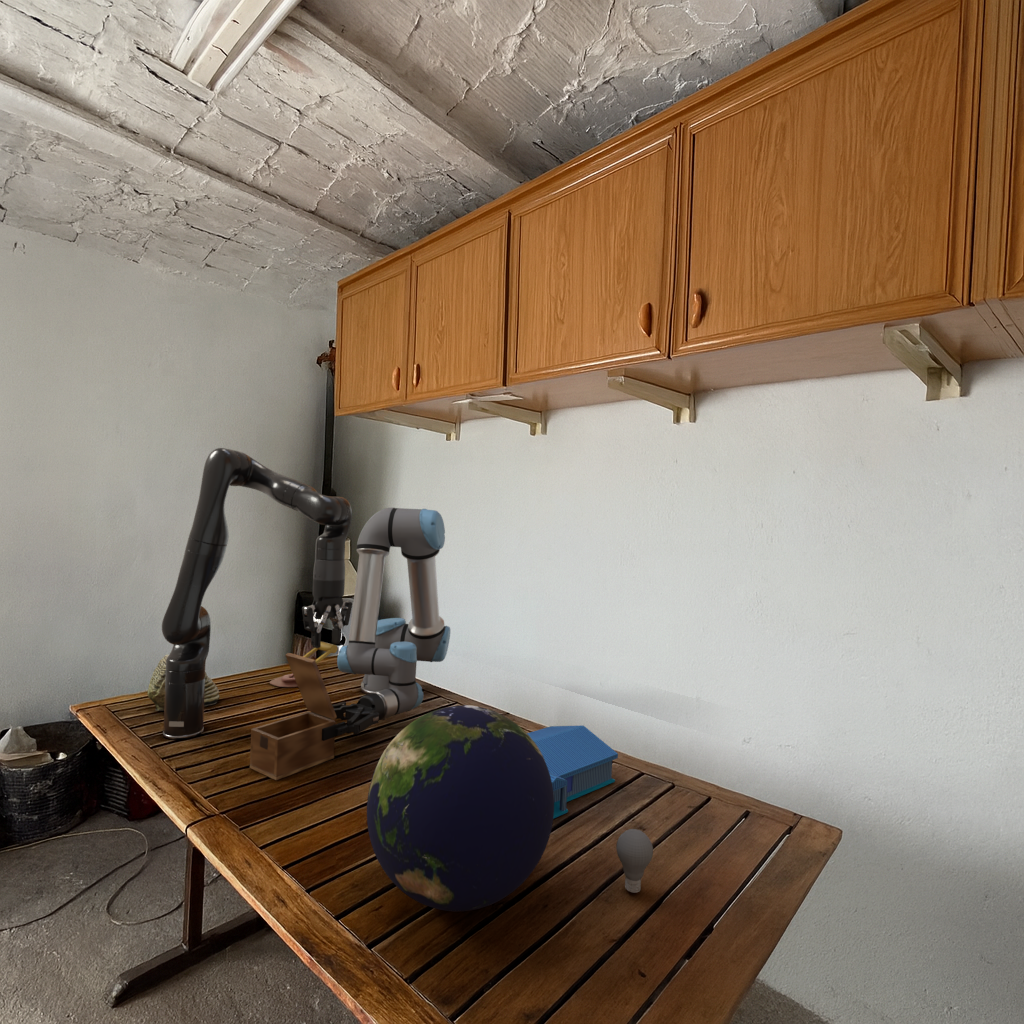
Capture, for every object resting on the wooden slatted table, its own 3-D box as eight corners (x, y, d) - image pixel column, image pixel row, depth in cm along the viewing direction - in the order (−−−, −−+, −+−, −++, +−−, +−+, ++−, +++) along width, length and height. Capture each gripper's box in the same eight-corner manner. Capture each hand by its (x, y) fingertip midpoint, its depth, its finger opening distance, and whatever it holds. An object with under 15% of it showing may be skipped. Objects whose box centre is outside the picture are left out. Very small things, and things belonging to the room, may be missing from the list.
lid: (311, 662, 147) (340, 640, 154) (285, 654, 153) (313, 633, 159) (334, 719, 153) (360, 696, 160) (307, 710, 159) (334, 688, 165)
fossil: (144, 707, 182) (145, 655, 182) (212, 696, 194) (213, 647, 194) (151, 716, 175) (153, 662, 175) (221, 703, 188) (223, 653, 188)
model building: (497, 843, 118) (499, 790, 118) (422, 794, 136) (424, 748, 136) (626, 786, 145) (628, 743, 144) (549, 751, 163) (551, 713, 163)
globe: (322, 922, 94) (330, 722, 94) (423, 829, 122) (430, 674, 122) (507, 988, 83) (517, 762, 83) (572, 869, 111) (580, 699, 110)
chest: (276, 780, 140) (277, 739, 140) (249, 767, 146) (251, 728, 146) (334, 758, 154) (335, 720, 153) (307, 747, 159) (308, 711, 159)
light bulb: (610, 879, 108) (613, 822, 108) (644, 879, 109) (647, 822, 109) (619, 902, 102) (622, 840, 102) (655, 901, 103) (658, 840, 103)
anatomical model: (264, 673, 208) (283, 664, 219) (264, 685, 208) (283, 676, 219) (301, 677, 205) (319, 668, 216) (301, 689, 205) (318, 679, 216)
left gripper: (315, 581, 148) (312, 653, 148) (361, 576, 160) (358, 643, 160) (294, 577, 152) (291, 647, 152) (341, 573, 164) (338, 638, 164)
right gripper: (406, 730, 165) (339, 757, 147) (347, 711, 178) (278, 733, 160) (407, 702, 165) (340, 725, 147) (348, 684, 178) (279, 703, 159)
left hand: (326, 645), depth 156 cm, fingers open, 5 cm apart
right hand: (308, 729), depth 153 cm, fingers closed on chest, 10 cm apart
